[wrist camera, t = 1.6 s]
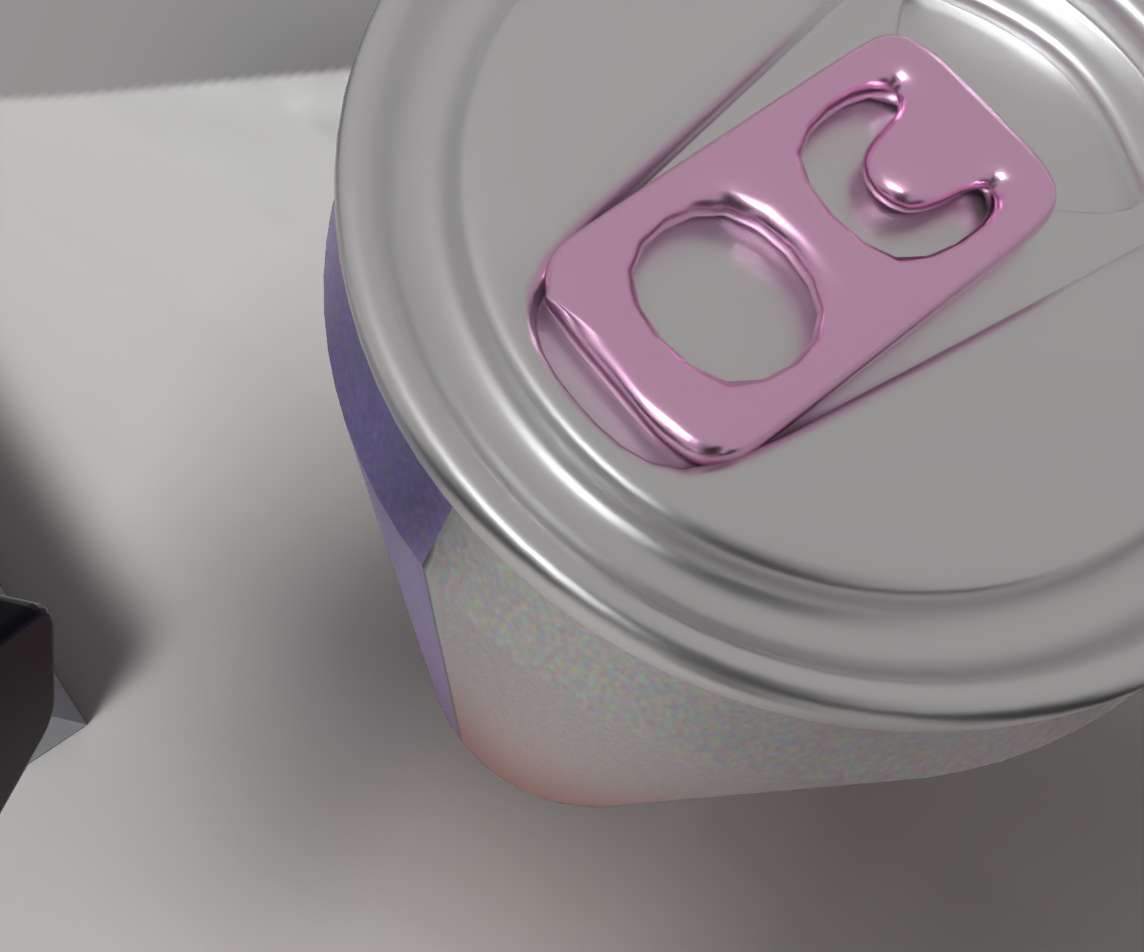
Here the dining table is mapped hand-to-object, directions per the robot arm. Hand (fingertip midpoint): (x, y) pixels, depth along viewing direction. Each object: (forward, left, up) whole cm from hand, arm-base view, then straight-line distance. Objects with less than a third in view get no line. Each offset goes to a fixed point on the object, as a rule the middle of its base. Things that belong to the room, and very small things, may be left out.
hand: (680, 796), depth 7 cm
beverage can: (+2, +2, -12) cm, 12 cm away
